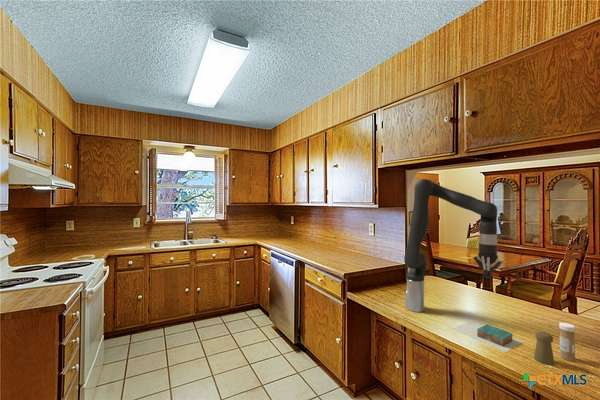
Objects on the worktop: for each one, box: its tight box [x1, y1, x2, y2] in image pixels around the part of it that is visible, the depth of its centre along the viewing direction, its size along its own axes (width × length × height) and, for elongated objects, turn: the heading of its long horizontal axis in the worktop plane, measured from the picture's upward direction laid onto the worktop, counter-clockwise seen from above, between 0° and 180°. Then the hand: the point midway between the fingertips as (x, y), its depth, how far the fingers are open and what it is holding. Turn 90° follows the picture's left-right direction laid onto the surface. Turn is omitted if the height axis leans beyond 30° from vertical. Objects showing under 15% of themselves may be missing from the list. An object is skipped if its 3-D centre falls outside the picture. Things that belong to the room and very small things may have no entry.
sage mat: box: [451, 321, 524, 353], centre depth 125 cm, size 23×16×1 cm
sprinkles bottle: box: [558, 322, 576, 362], centre depth 107 cm, size 5×5×14 cm
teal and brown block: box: [477, 323, 513, 347], centre depth 121 cm, size 4×9×10 cm
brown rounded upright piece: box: [533, 330, 556, 366], centre depth 105 cm, size 6×6×11 cm
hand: (487, 277), depth 133 cm, fingers closed
